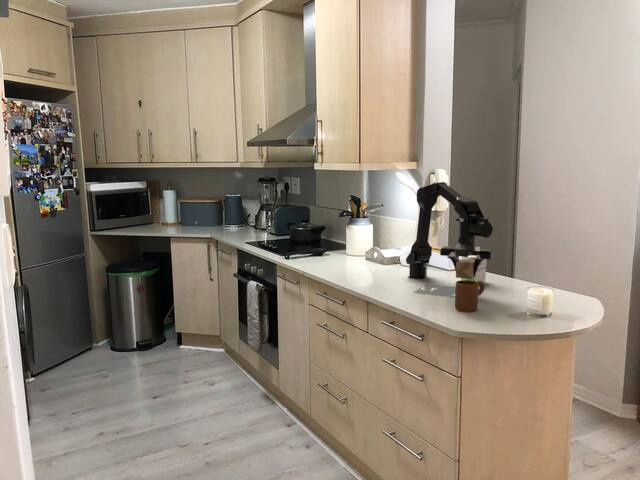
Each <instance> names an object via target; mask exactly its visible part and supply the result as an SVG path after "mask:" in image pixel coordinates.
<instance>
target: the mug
mask: <svg viewBox="0 0 640 480" xmlns="http://www.w3.org/2000/svg"><path fill="white" fill-rule="evenodd" d="M454 287H455V298H454V308H455V310H457V311H459V312H464V313H474V312H476V311H477V310H478V307H479V296H481V295H482V294H483V293H484V292H485V289H486V288H485V287H486V285H485V283H483V282H482V281H477V282H475V281H470V280H457V281H456V282H455V286H454ZM478 289H479V290H478Z"/></svg>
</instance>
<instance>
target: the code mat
mask: <svg viewBox="0 0 640 480" xmlns="http://www.w3.org/2000/svg"><path fill="white" fill-rule="evenodd" d="M478 290H479V288H478ZM412 293H413V294H419V295H430V296H438V297H448V298H454V299H455V286H453V285H451V286H450V285H443V284H432V283H426V284H424V285H423V286H421V287H420V288H418V289H416V290H415V291H413V292H412Z"/></svg>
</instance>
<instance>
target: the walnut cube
mask: <svg viewBox="0 0 640 480" xmlns="http://www.w3.org/2000/svg"><path fill="white" fill-rule="evenodd" d="M474 265H475V260H465V259H462V258H461V259H460V258H459V260H458V261H457V262H456V271H455V278H457V279H461V278H465V279H473V278H474V277H475V276H476V275H475V276H474Z"/></svg>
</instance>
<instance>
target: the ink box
mask: <svg viewBox="0 0 640 480" xmlns="http://www.w3.org/2000/svg"><path fill="white" fill-rule="evenodd" d="M475 251H481V247H480V246H475ZM476 258H477V257H476V256H474V255H469V256H468V257H462V256H461V259H465V260H475V259H476ZM486 276H487V259H485V260H483V261H482V262H481V263H480V265H479V268H478V270H477V273H476V276H475V277H474V278H473V279H465V278H460V279H461V280H470V281H475V282H477V281H482V282H483V283H484V284H486Z"/></svg>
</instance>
